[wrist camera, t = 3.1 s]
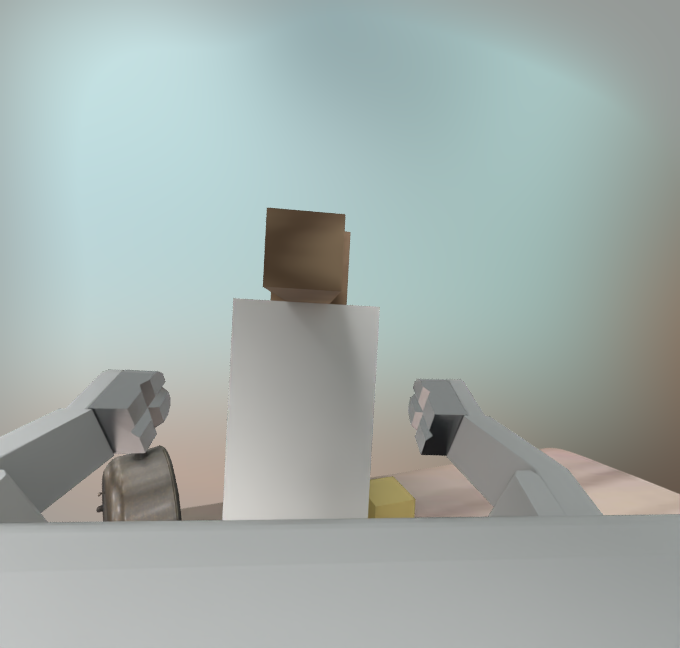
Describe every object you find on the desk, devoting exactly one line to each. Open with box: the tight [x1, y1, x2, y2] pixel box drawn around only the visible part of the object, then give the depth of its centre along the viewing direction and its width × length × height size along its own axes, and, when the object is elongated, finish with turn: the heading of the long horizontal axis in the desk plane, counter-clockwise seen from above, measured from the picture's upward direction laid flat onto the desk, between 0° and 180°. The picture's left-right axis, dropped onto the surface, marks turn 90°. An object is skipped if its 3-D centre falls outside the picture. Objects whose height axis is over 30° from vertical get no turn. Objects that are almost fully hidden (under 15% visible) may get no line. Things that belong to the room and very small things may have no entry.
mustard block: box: [368, 476, 415, 518], centre depth 35 cm, size 5×5×5 cm
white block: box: [222, 298, 380, 520], centre depth 30 cm, size 12×12×26 cm
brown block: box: [263, 208, 350, 305], centre depth 24 cm, size 7×22×7 cm, turn 5°
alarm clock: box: [97, 446, 182, 522], centre depth 26 cm, size 11×5×16 cm, turn 41°
